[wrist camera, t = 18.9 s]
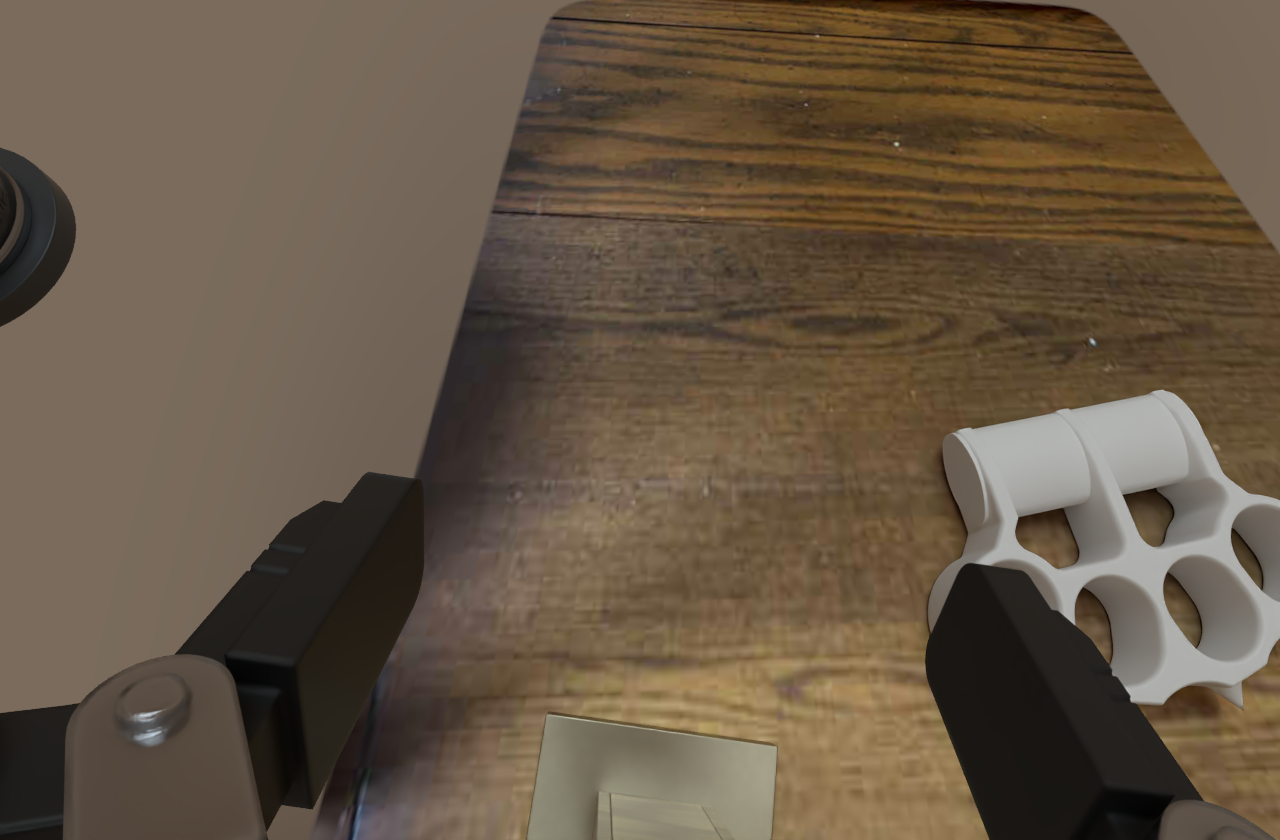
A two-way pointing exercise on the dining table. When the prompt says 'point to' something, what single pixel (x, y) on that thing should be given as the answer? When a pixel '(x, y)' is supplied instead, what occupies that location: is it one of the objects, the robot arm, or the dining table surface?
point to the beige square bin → (648, 775)
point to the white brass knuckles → (1127, 535)
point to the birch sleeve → (654, 820)
